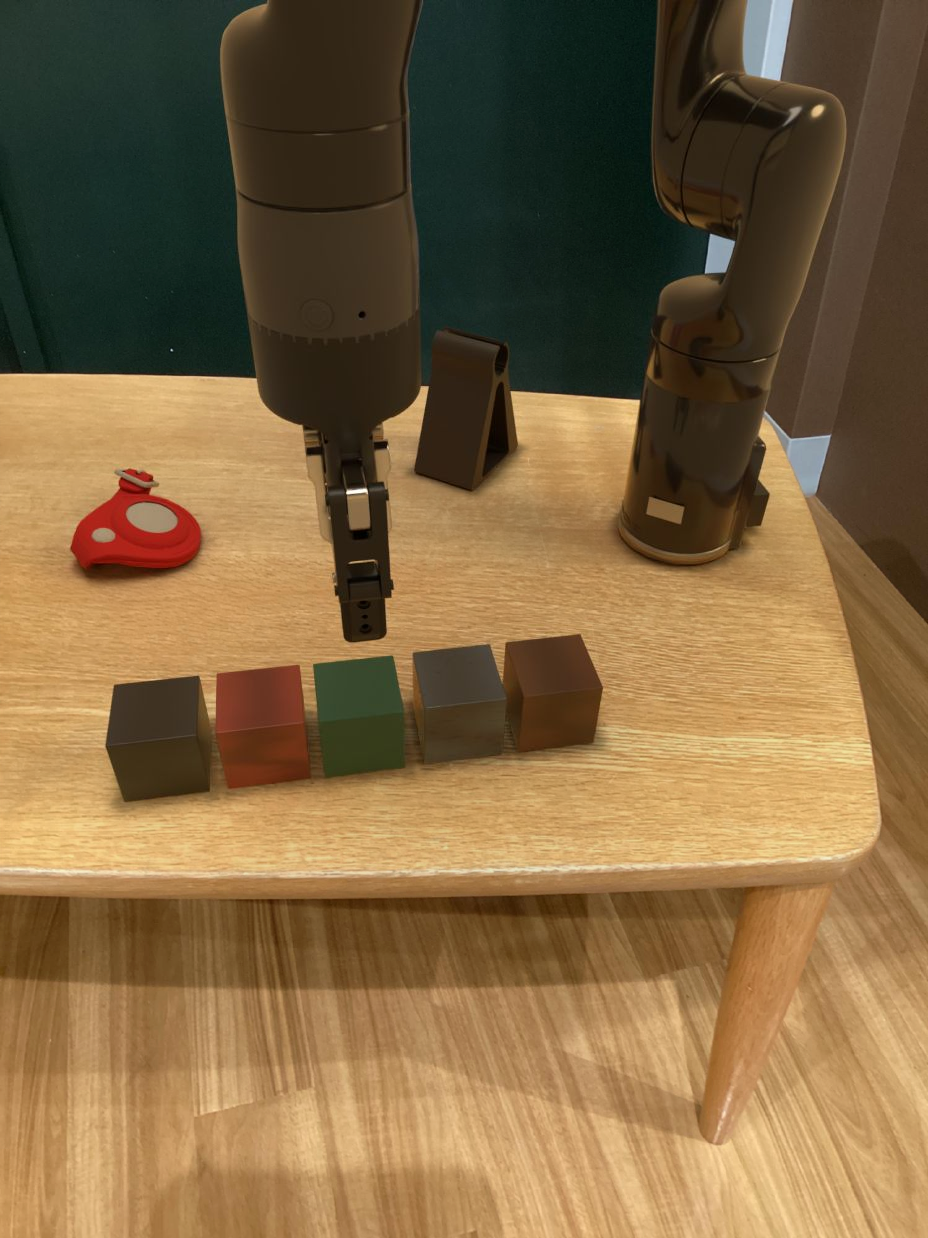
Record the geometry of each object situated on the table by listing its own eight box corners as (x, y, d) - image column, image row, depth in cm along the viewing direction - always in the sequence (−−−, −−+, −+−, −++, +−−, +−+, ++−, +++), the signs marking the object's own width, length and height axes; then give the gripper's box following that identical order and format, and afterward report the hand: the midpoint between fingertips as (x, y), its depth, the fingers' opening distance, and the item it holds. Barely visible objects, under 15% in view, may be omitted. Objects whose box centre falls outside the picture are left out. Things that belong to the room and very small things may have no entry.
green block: (395, 710, 61) (393, 654, 58) (405, 768, 57) (404, 711, 54) (318, 719, 60) (312, 663, 57) (324, 778, 56) (318, 722, 53)
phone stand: (471, 492, 81) (475, 364, 73) (413, 472, 83) (412, 346, 76) (518, 448, 87) (526, 325, 79) (463, 431, 89) (466, 310, 82)
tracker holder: (228, 536, 73) (110, 563, 66) (218, 577, 76) (103, 607, 69) (149, 447, 78) (31, 464, 71) (141, 489, 81) (27, 509, 74)
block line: (572, 688, 63) (580, 633, 60) (594, 743, 59) (603, 687, 56) (131, 740, 58) (113, 684, 55) (124, 803, 55) (104, 746, 51)
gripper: (446, 361, 35) (446, 666, 46) (397, 234, 46) (406, 506, 56) (247, 375, 34) (294, 685, 45) (243, 242, 45) (282, 518, 55)
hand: (356, 585), depth 51 cm, fingers open, 8 cm apart
